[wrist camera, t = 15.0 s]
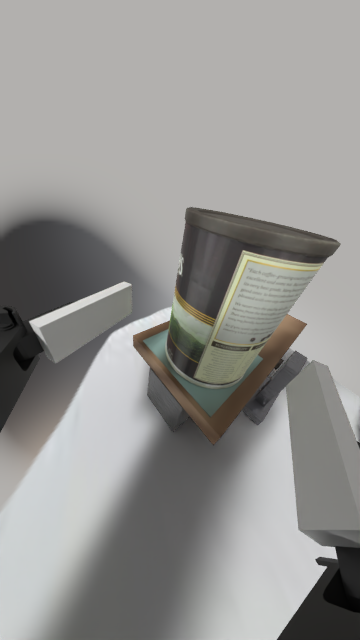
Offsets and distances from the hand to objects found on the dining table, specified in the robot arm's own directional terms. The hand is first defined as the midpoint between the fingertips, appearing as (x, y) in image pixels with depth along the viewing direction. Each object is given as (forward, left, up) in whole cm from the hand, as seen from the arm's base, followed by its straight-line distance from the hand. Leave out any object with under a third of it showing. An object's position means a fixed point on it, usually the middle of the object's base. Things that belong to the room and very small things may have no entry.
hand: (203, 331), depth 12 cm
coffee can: (+2, -5, -7) cm, 9 cm away
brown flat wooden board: (+2, -13, -9) cm, 16 cm away
